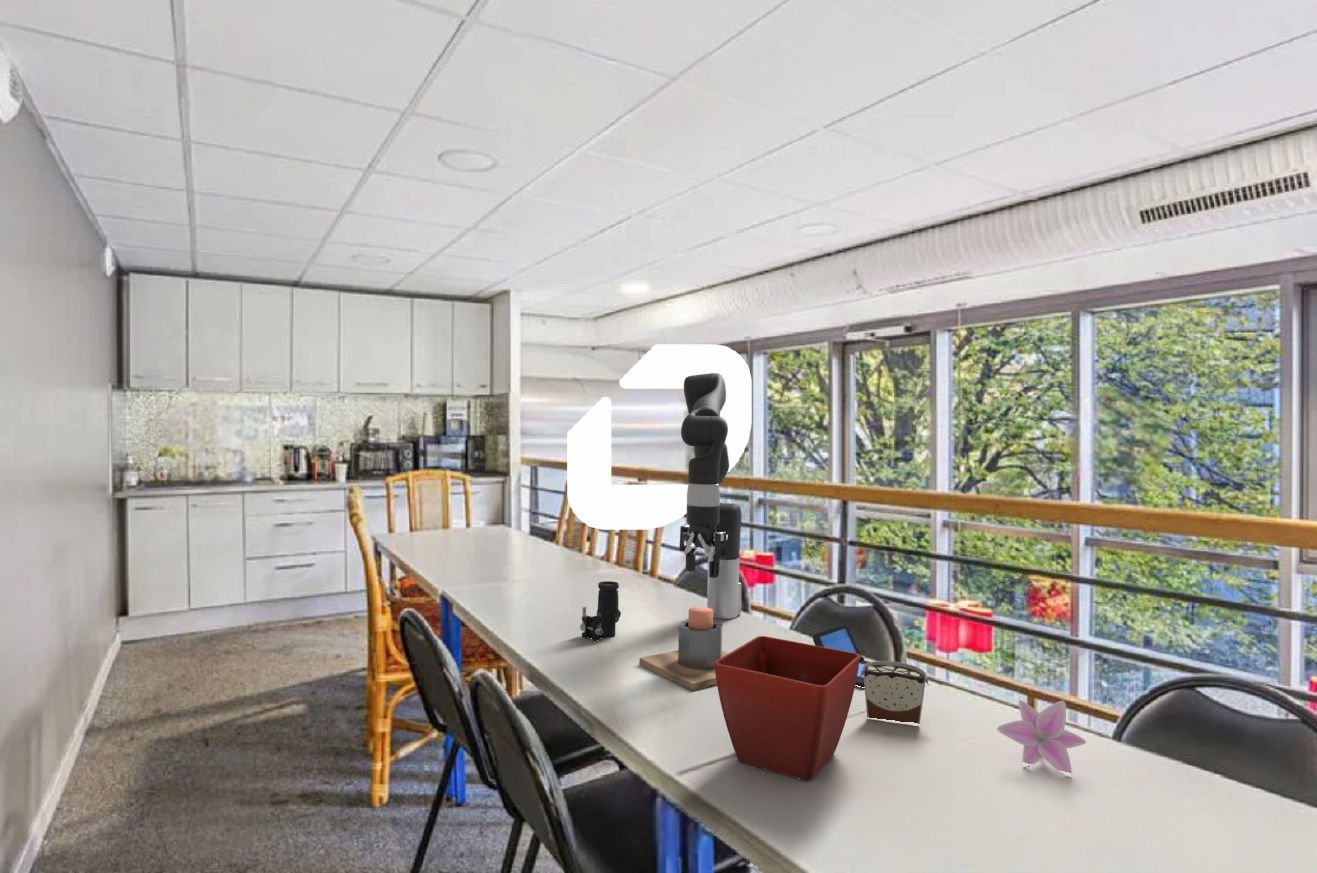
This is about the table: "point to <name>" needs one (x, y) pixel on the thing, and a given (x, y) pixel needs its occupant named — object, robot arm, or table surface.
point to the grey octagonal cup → (699, 646)
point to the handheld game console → (840, 645)
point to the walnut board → (679, 670)
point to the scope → (602, 613)
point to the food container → (894, 690)
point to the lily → (1043, 735)
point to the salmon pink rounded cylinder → (700, 618)
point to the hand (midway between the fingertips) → (701, 574)
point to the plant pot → (786, 703)
